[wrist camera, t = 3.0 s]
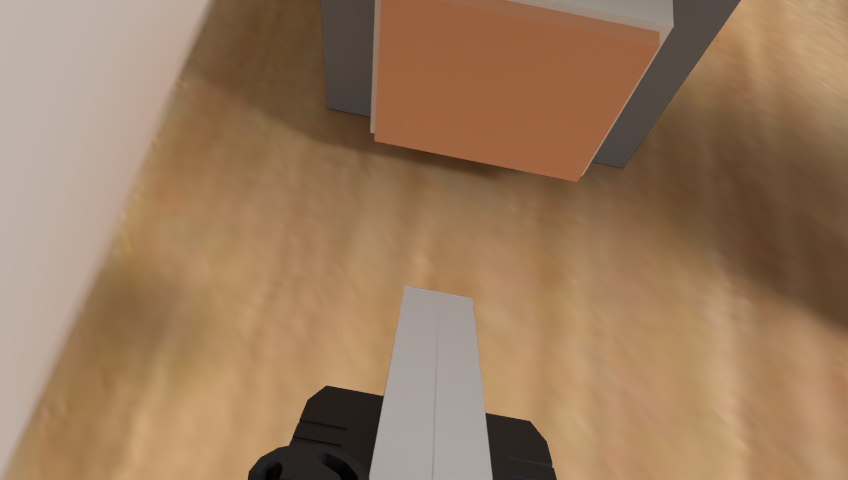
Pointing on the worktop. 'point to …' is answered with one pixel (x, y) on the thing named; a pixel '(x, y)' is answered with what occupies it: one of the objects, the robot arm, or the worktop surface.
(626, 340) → the worktop surface
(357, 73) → the gray box
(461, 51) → the orange drawer
